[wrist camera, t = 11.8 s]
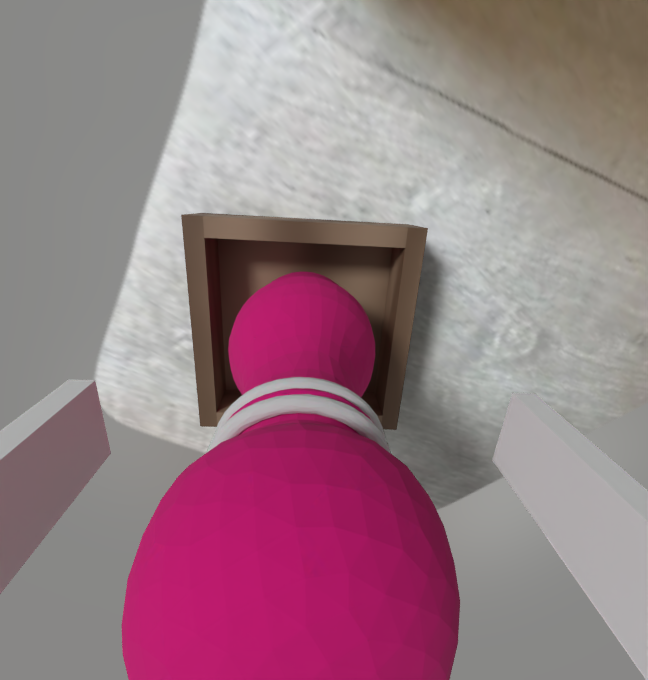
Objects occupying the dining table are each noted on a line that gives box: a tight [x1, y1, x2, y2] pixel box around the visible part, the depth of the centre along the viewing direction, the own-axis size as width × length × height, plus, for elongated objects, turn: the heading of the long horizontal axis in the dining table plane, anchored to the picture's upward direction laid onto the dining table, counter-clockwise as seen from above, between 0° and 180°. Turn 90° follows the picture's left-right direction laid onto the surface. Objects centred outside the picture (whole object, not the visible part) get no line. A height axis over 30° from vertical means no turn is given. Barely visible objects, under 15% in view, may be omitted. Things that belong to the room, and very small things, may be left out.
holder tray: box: [181, 213, 428, 430], centre depth 21 cm, size 12×12×4 cm
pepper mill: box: [122, 272, 460, 680], centre depth 12 cm, size 7×7×20 cm
